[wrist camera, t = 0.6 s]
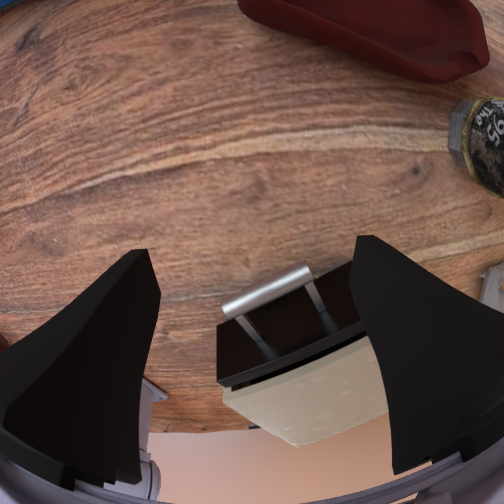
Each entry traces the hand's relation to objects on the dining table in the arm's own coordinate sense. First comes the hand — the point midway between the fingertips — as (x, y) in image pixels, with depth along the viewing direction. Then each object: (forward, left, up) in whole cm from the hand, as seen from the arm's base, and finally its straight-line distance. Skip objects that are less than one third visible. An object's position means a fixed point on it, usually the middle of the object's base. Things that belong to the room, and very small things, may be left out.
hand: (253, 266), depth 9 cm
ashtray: (+13, +10, -10) cm, 20 cm away
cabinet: (-2, -19, -10) cm, 21 cm away
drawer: (-2, -14, -9) cm, 17 cm away
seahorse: (+25, -30, -10) cm, 41 cm away
